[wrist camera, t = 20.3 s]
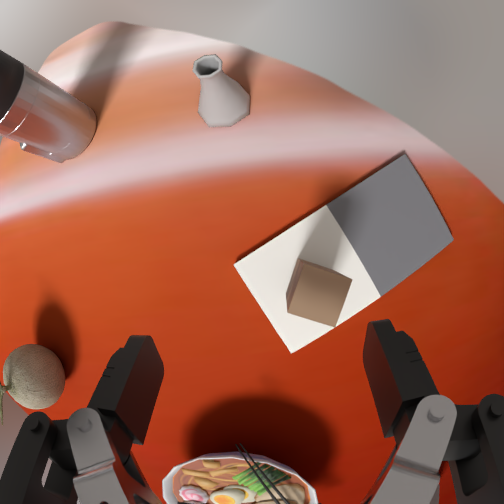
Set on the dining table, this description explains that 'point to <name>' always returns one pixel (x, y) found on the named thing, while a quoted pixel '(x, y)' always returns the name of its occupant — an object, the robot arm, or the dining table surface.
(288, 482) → the ramen bowl
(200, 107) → the flask
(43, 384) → the fruit
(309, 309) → the block
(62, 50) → the dining table surface
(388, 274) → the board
